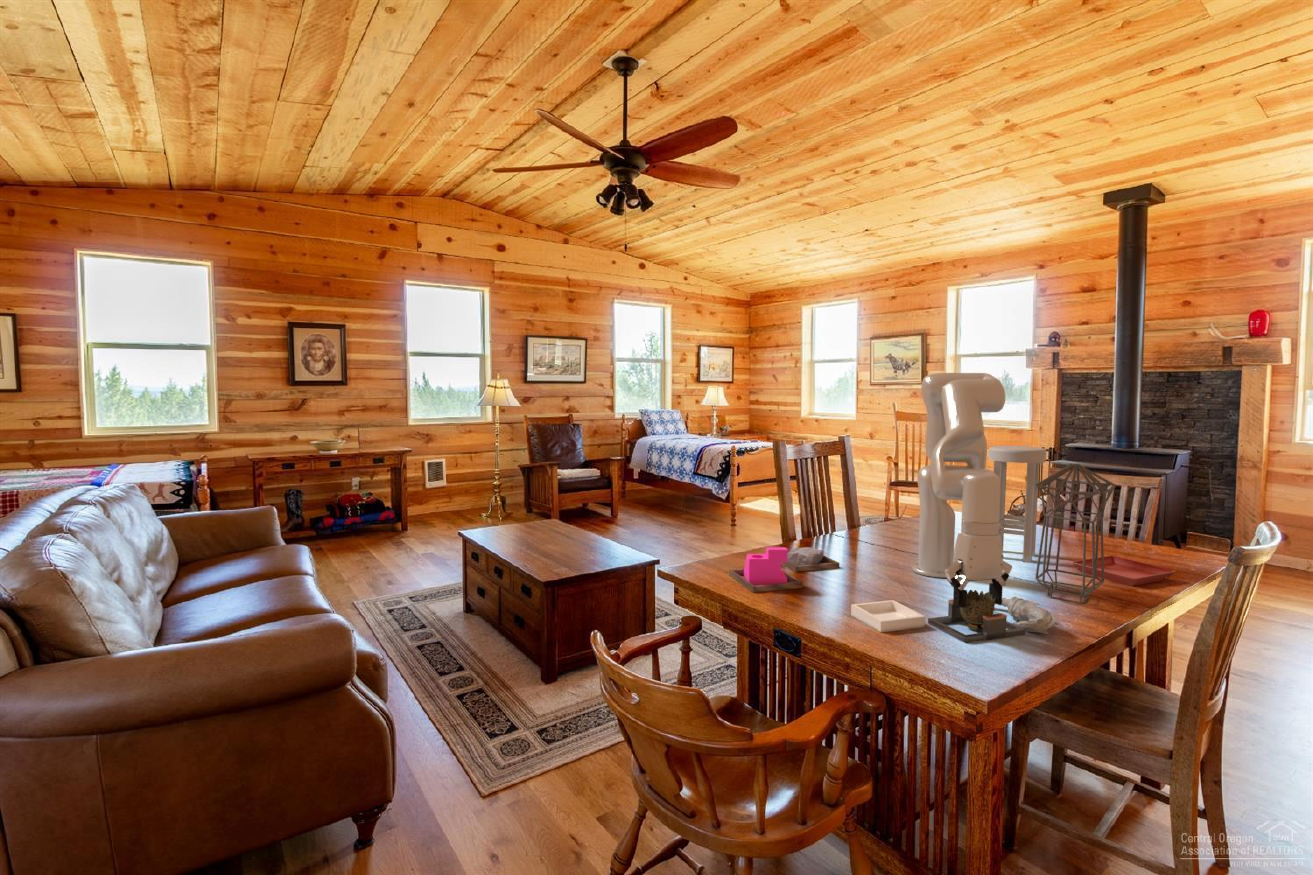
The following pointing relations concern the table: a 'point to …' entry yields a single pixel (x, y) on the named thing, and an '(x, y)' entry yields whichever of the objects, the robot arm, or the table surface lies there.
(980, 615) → the cup
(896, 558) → the table surface
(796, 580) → the brown wooden square tray
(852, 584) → the table surface
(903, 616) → the tray
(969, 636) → the frame
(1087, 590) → the geometric lantern
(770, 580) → the bracket
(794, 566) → the brown rectangular frame
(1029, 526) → the stool
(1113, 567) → the plant saucer
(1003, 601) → the seahorse
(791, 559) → the stone block
